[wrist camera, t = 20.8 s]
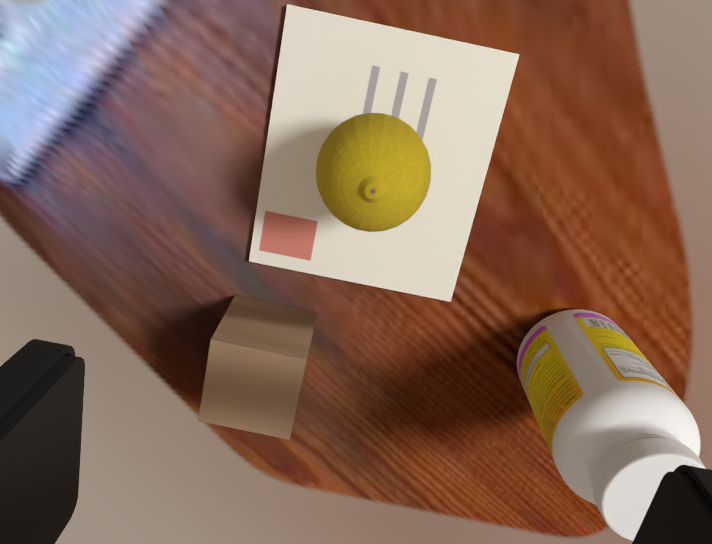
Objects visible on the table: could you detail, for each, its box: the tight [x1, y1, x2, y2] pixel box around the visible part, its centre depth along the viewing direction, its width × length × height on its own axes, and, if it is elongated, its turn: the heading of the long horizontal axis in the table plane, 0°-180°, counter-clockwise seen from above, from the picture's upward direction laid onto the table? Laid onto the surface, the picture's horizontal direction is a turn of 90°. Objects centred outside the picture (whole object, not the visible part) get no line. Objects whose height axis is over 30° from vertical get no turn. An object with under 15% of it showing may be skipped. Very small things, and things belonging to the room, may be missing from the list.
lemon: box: [316, 113, 431, 232], centre depth 30 cm, size 6×6×8 cm
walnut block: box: [198, 295, 317, 439], centre depth 36 cm, size 5×5×6 cm
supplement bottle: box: [517, 309, 706, 541], centre depth 32 cm, size 7×7×13 cm
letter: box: [249, 4, 519, 302], centre depth 34 cm, size 14×12×1 cm
